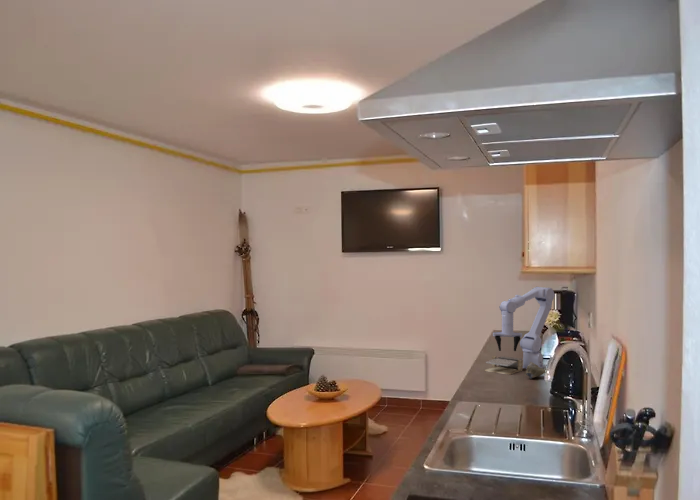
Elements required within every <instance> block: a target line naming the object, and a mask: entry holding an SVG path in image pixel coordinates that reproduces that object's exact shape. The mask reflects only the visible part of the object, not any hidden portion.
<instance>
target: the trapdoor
mask: <svg viewBox="0 0 700 500" xmlns="http://www.w3.org/2000/svg"><path fill="white" fill-rule="evenodd" d="M518 360H522V361H523V358H521V357H520V358H518V357H511V356H510V357H509V356H505V355H504V356H503V355H501V356H499V357H496V358H495V359H492V358H491V359H490V360H488V361H485V364H490V365H492V364H496V366H498V367H504V368H511V369H518Z"/></svg>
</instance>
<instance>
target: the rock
mask: <svg viewBox="0 0 700 500" xmlns="http://www.w3.org/2000/svg"><path fill="white" fill-rule="evenodd" d="M545 370H546V369H545V368H544V367H543V368H540V367H538V365H536V364H534V363H533V362H530V364H529V365H528V367H527V369H525V374H526V376H527V377H529V379H530V380H531V379H534V378H536V377H540V376H542V375H544V374H545V373H546V372H545Z"/></svg>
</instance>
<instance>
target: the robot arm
mask: <svg viewBox="0 0 700 500" xmlns="http://www.w3.org/2000/svg"><path fill="white" fill-rule="evenodd" d="M555 297H556V294H555V292H554V289H553V288H552V287H545V286H544V287H541V286H536V287H535V286H534V287H533V288H532V289H530V290H529V291H527V292H526V293H524V294H523V295H520V294H515V295H514V297H512V298H509V299H508V300H504V301H501V303H500V305H499V310H500V313H501V331H499V332H492V337H494V339H495V341H496V344H497V348H498V351H499V352H501V351H502V347H501V346H502V337H504V338H505V337H509V338H513V351H514V352H517V349H518V346H519V347H520V348H521V350H522V352H523V353H522V355H523V356H522V365H523V369H525V370H527V367H528V365H529V364H530V362H533V363H534V364H536V365H538V367H540V368H543V369H544V361H543V360H544V356H543V353H542V352H540V350H541V348H542V341H543V340H542V338H541V337H540V335H541V333H542V331H543V329H544V326H545V323H546V321H547V320H548V319H547V318H548V316H549V314H550V311H551V309H552V307H553V306H552V305H553V301H554V299H555ZM532 299H535V301H536V302H537V303H538V304H539V308H538V310H537V313H536V314H535V317H534V320H533V321H532V325H531V327H530V329H529V332H527V333H525V334H524V335H523V333H522V332H514V313H516V310H517V309H518V308H521V307H523V306H524V305H525V304H526V302H528V301H530V300H532Z"/></svg>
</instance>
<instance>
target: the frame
mask: <svg viewBox="0 0 700 500" xmlns="http://www.w3.org/2000/svg"><path fill="white" fill-rule="evenodd" d="M495 358H497V356H495V355H492V356H491V360H492V359H495ZM523 369H524V368H523V359H522V360H518V368H511V367H504V366H498V365H496V364H491V367H490V368H486V369H485V370H484V369H483V370H484V372H489V373H496V374H503V375H510V376H511V375H513V374H514V375H515V374H516V373H518V372H523Z"/></svg>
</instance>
